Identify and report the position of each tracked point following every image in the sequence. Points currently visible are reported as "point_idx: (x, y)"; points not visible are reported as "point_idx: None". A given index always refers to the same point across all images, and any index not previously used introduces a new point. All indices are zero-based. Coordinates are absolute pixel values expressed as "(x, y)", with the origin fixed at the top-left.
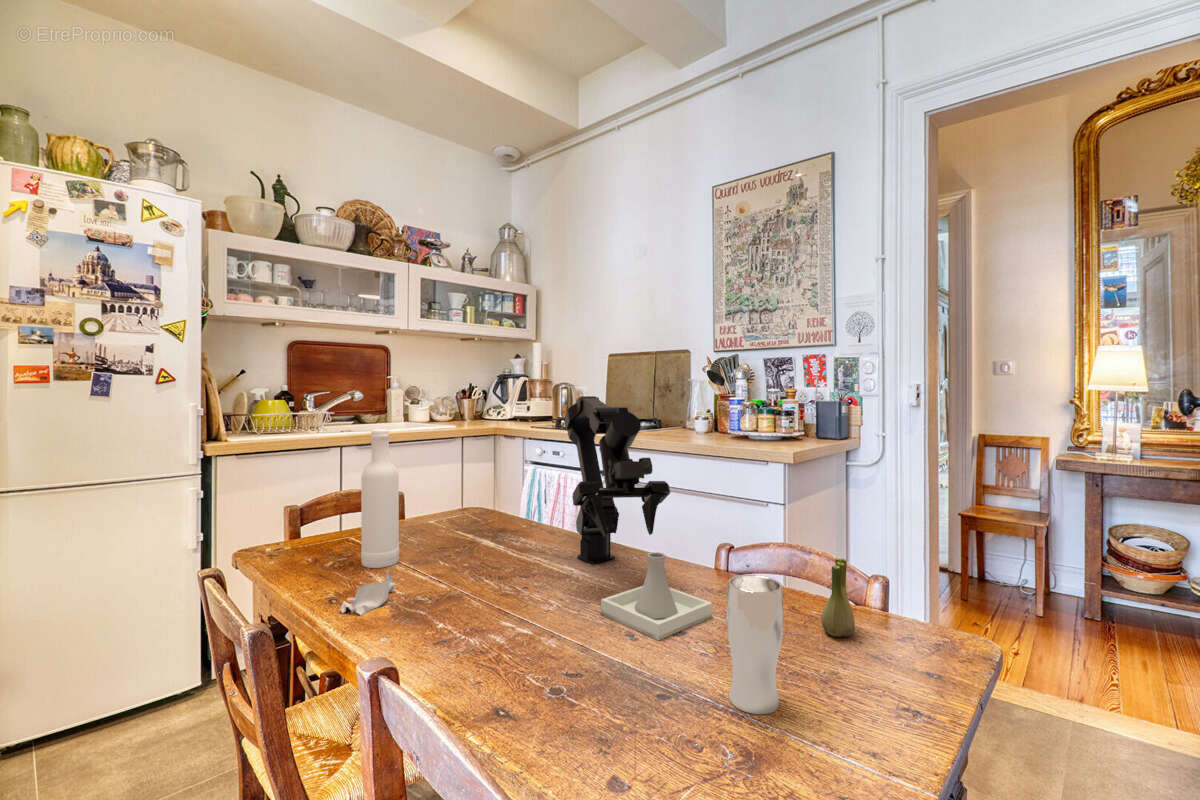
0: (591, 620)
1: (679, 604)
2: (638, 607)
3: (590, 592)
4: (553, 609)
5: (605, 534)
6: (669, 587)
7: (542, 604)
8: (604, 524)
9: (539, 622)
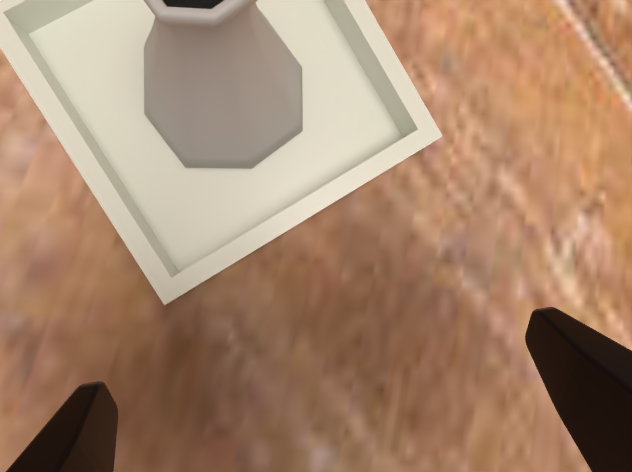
0: (462, 99)
1: (106, 144)
2: (298, 82)
3: (426, 359)
4: (573, 215)
5: (549, 308)
6: (112, 222)
7: (605, 265)
8: (617, 362)
9: (623, 117)
